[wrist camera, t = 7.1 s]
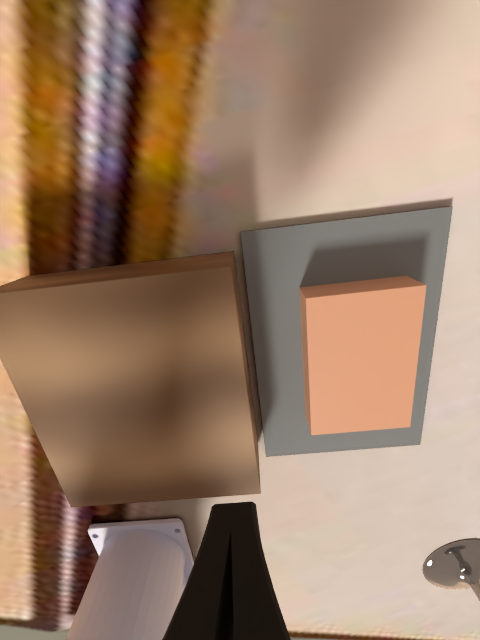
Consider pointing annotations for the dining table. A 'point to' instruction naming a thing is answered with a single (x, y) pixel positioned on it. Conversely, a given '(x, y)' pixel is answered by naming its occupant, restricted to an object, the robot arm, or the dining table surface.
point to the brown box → (136, 378)
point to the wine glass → (455, 566)
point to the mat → (329, 268)
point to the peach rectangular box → (360, 353)
